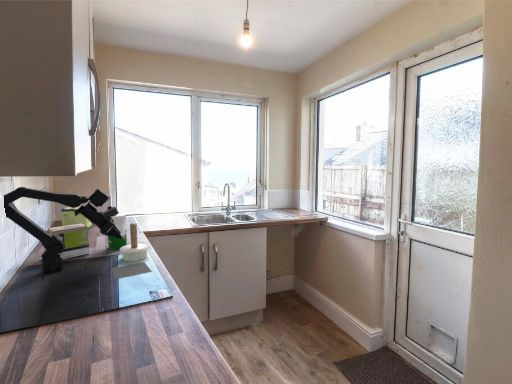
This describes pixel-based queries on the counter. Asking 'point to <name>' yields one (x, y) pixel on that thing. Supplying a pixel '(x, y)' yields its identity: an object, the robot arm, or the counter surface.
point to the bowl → (134, 256)
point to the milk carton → (121, 226)
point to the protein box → (73, 218)
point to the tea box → (73, 240)
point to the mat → (130, 270)
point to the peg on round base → (134, 242)
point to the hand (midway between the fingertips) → (120, 235)
